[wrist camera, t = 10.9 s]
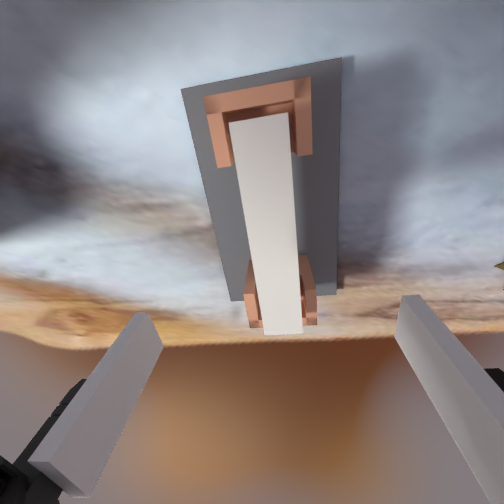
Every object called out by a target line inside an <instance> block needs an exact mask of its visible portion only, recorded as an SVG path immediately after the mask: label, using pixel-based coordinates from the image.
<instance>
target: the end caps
mask: <svg viewBox="0 0 504 504" xmlns="http://www.w3.org/2000/svg"><path fill="white" fill-rule="evenodd" d="M341 62H342V57H341V58H336V59H331V60H326V61H321V62H316V63H311V64H306V65H301V66H296V67H291V68H285V69H280V70H275V71H270V72H265V73H260V74H255V75H250V76H245V77H240V78H235V79H230V80H224V81H219V82H214V83H209V84H204V85H199V86H194V87H189V88H184V89H181V92H182V97H183V101H184V105H185V109H186V113H187V118H188V122H189V126H190V130H191V135H192V139H193V143H194V147H195V151H196V156H197V160H198V164H199V168H200V173H201V177H202V181H203V185H204V189H205V194H206V198H207V202H208V206H209V210H210V215H211V219H212V223H213V227H214V232H215V236H216V240H217V244H218V248H219V253H220V257H221V261H222V265H223V270H224V274H225V278H226V282H227V286H228V291H229V295H230V299H231V301H245V306H246V311H247V316H248V321H249V326H250V328H263V322H262V316H261V310H260V305H259V299H258V293H257V287H256V281H255V275H254V270H253V264H252V258H251V252H250V246H249V240H248V235H247V229H246V223H245V217H244V211H243V205H242V200H241V194H240V188H239V182H238V176H237V170H236V165H235V159H234V153H233V147H232V141H231V135H230V130H229V124H228V123H230V122H235V121H241V120H247V119H253V118H258V117H264V116H270V115H276V114H281V113H287V112H288V119H289V134H290V149H291V163H292V178H293V193H294V207H295V222H296V237H297V251H298V266H299V281H300V295H301V310H302V325H303V326H306V325H317V300H316V296H321V295H336V291H337V245H338V199H339V154H340V108H341Z"/></svg>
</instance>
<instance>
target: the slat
mask: <svg viewBox="0 0 504 504" xmlns="http://www.w3.org/2000/svg"><path fill="white" fill-rule="evenodd" d="M228 124H229V130H230V135H231V141H232V147H233V153H234V159H235V165H236V170H237V176H238V182H239V188H240V194H241V200H242V205H243V211H244V217H245V223H246V229H247V235H248V240H249V246H250V252H251V258H252V264H253V270H254V275H255V281H256V287H257V293H258V299H259V305H260V310H261V316H262V322H263V328H264V334H265V335H282V334H303V325H302V310H301V295H300V281H299V266H298V251H297V237H296V222H295V207H294V193H293V178H292V163H291V149H290V134H289V119H288V112H287V113H281V114H276V115H270V116H264V117H258V118H253V119H247V120H241V121H235V122H230V123H228Z"/></svg>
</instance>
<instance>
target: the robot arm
mask: <svg viewBox="0 0 504 504" xmlns="http://www.w3.org/2000/svg"><path fill="white" fill-rule="evenodd" d="M394 337H395V339H396V341H397V342H398V344H399V346H400V347H401V349H402V351H403V352H404V354H405V356H406V358H407V360H408V361H409V363H410V365H411V367H412V368H413V370H414V372H415V373H416V375H417V377H418V379H419V380H420V382H421V384H422V386H423V387H424V389H425V391H426V392H427V394H428V396H429V398H430V399H431V401H432V403H433V404H434V406H435V408H436V410H437V412H438V413H439V415H440V417H441V418H442V420H443V422H444V424H445V425H446V427H447V429H448V430H449V432H450V434H451V436H452V437H453V439H454V441H455V443H456V444H457V446H458V448H459V449H460V451H461V453H462V455H463V457H464V458H465V460H466V462H467V463H468V465H469V467H470V469H471V470H472V472H473V474H474V476H475V477H476V479H477V481H478V482H479V484H480V486H481V488H482V489H483V491H484V493H485V495H486V496H487V498H488V500H489V502H490V503H491V504H504V372H503V371H502V370H500V369H499V368H495V369H483V368H482V367H481V366H480V365H479V363H478V362H477V361H476V360H475V359H474V358H473V357H472V355H471V354H470V353H469V352H468V351H467V349H466V348H464V346H463V345H462V344H461V343H460V341H459V340H458V339H457V338H456V337H455V336H454V334H453V333H452V332H451V331H450V330H449V329H448V328H447V326H446V325H445V324H444V323H443V322H442V321H441V319H440V318H439V317H438V316H437V315H436V314H435V313H434V311H433V310H432V309H431V308H430V307H429V306H428V304H427V303H426V302H425V301H424V300H423V299H422V298H421V296H420V295H407V296H402V298H401V303H400V309H399V314H398V320H397V325H396V331H395V336H394ZM163 347H164V346H163V344H162V342H161V340H160V337H159V335H158V333H157V331H156V329H155V326H154V324H153V322H152V320H151V318H150V315H149V313H148V312H142V313H135V314H134V315H133V317H132V318H131V320H130V321H129V322H128V324H127V325H126V326H125V328H124V329H123V331H122V332H121V333H120V335H119V336H118V337H117V339H116V340H115V341H114V343H113V344H112V346H111V347H110V348H109V350H108V351H107V353H106V354H105V355H104V357H103V358H102V359H101V361H100V362H99V363H98V365H97V366H96V368H95V369H94V371H93V372H92V373H91V375H90V376H89V377H88V379H82V380H81V381H79V382H78V383H77V384H76V385H75V386H74V387H73V388H72V389H70V391H69V392H68V393H67V394H66V396H65V397H64V398H63V400H62V401H61V402H60V405H59V406H57V407H56V409H55V410H54V411H53V413H52V414H51V417H49V418H48V419H47V421H46V422H45V423H44V424H43V426H42V427H41V428H40V430H39V431H38V432H37V434H36V435H35V436H34V438H33V439H32V440H31V441H30V443H29V444H28V445H27V447H26V448H25V449H24V451H23V452H22V453H21V454H20V456H19V457H18V458H17V460H16V461H15V462H14V463H13V464H11V463H10V462H8V461H7V460H6V459H4V458H3V457H1V456H0V504H60V503H59V500H58V498H59V496H60V494H61V492H62V491H65V492H66V493H67V494H68V495H69V496H71V497H83V498H90V496H91V494H92V492H93V490H94V488H95V486H96V484H97V482H98V480H99V478H100V476H101V474H102V472H103V470H104V467H105V466H106V463H107V461H108V459H109V458H110V455H111V453H112V451H113V449H114V447H115V445H116V443H117V441H118V439H119V437H120V435H121V433H122V431H123V429H124V427H125V425H126V423H127V420H128V419H129V417H130V414H131V412H132V410H133V408H134V406H135V404H136V402H137V400H138V398H139V396H140V394H141V392H142V390H143V388H144V386H145V384H146V382H147V380H148V378H149V376H150V374H151V372H152V370H153V368H154V366H155V364H156V361H157V359H158V357H159V355H160V353H161V351H162V349H163Z"/></svg>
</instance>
